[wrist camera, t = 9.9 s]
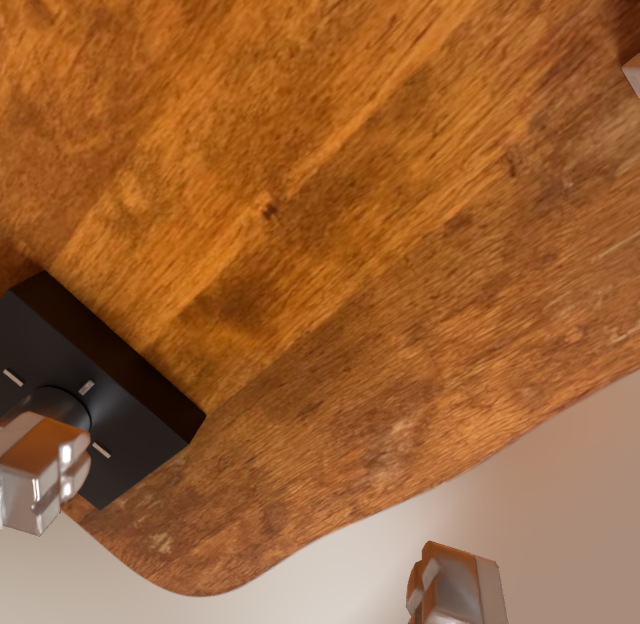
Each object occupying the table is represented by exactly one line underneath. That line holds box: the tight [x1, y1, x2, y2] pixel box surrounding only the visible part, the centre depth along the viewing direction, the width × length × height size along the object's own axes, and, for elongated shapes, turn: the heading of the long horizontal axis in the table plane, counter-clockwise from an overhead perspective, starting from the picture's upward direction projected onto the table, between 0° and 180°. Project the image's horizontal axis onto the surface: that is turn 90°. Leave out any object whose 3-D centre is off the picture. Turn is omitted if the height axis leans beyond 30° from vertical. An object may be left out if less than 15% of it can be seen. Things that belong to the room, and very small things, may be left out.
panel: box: [0, 271, 206, 511], centre depth 32 cm, size 14×11×3 cm
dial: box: [0, 387, 90, 432], centre depth 29 cm, size 4×4×4 cm
